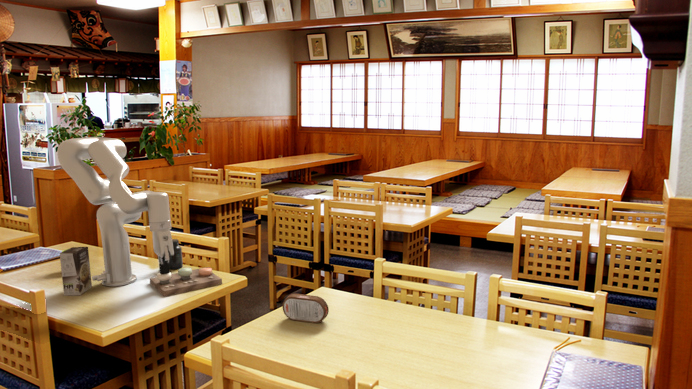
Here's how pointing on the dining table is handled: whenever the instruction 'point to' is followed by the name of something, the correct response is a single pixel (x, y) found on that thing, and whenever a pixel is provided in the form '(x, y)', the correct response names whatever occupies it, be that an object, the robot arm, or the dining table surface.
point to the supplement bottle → (176, 256)
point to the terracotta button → (205, 271)
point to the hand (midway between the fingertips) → (164, 273)
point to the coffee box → (75, 270)
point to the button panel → (185, 283)
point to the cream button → (164, 278)
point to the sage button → (185, 273)
